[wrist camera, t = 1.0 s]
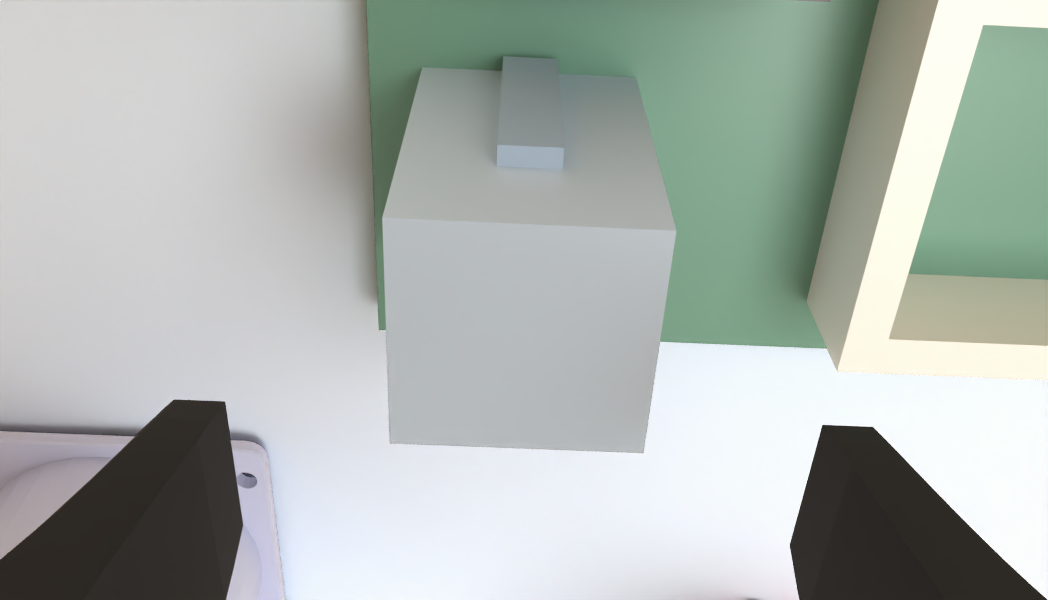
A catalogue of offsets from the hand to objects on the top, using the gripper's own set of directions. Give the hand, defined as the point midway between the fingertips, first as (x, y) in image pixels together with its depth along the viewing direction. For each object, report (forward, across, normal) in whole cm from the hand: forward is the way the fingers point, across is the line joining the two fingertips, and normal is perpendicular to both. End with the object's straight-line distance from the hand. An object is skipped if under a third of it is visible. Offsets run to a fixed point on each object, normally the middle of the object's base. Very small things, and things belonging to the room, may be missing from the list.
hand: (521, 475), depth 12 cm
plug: (+9, 0, 0) cm, 9 cm away
